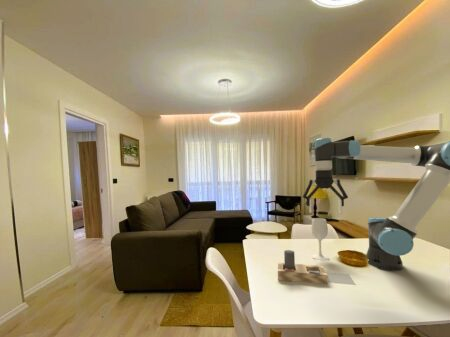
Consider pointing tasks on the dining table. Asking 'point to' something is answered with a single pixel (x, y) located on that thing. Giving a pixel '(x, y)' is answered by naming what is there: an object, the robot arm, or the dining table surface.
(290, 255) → the plug
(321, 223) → the wineglass
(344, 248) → the dining table surface
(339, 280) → the pad
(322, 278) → the socket block
